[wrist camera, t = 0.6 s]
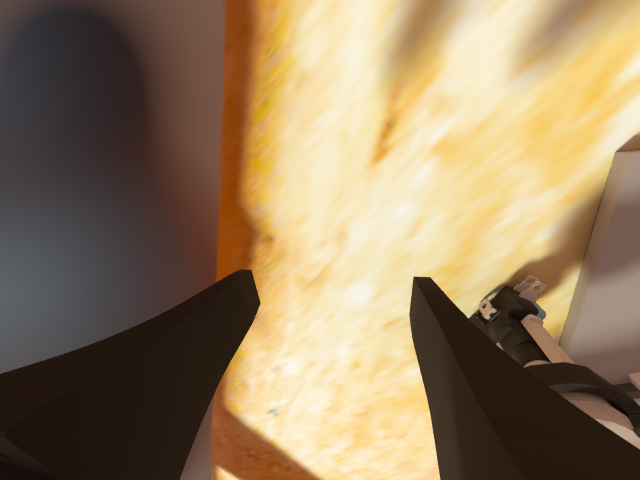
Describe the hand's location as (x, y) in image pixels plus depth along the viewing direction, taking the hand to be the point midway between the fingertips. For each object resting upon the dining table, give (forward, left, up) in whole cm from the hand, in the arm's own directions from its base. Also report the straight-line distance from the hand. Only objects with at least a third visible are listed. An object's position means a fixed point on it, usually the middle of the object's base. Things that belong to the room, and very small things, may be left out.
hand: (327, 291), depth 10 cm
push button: (-8, -12, -11) cm, 18 cm away
